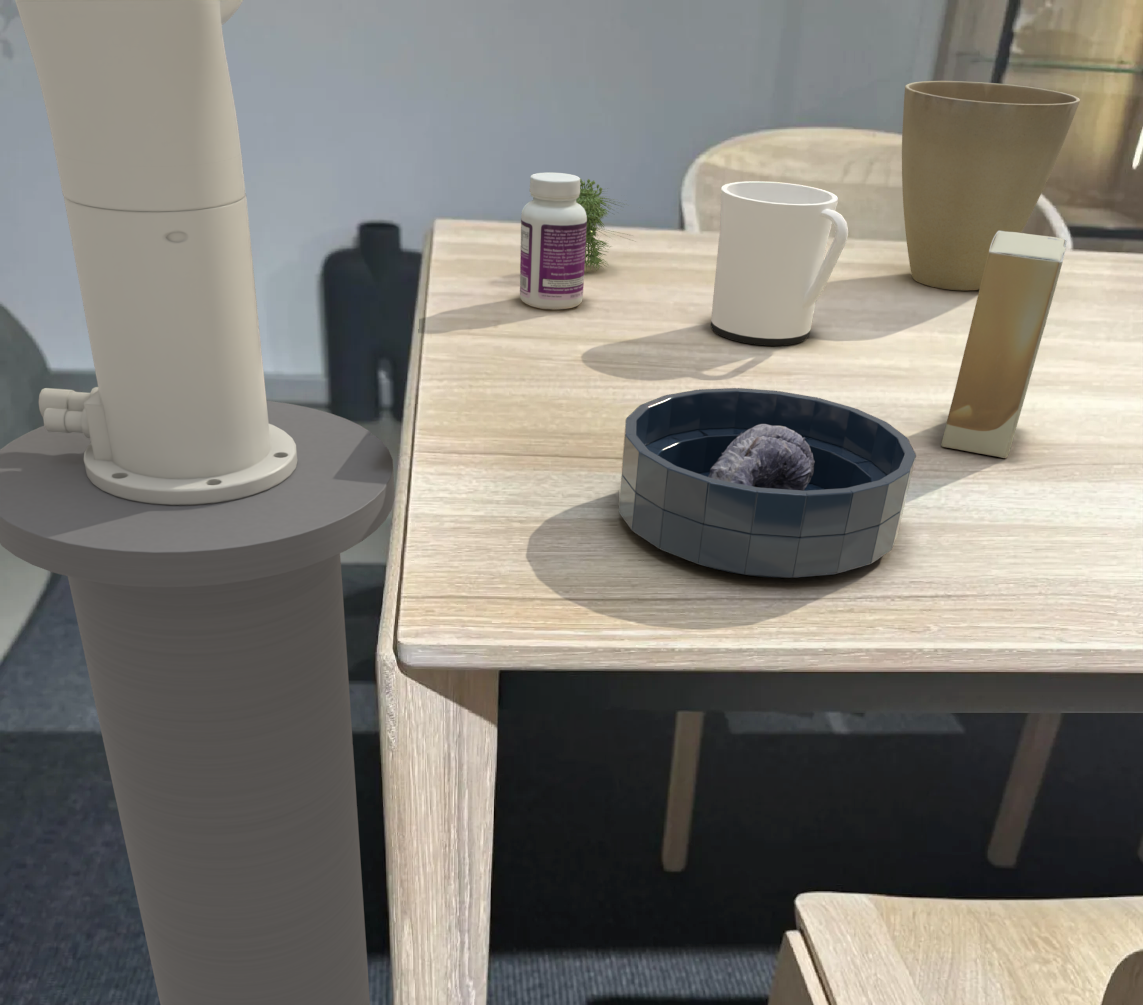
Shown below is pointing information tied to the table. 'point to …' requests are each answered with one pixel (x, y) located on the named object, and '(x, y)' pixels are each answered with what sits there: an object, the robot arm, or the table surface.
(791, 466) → the seashell
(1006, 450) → the cosmetic box
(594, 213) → the green plant
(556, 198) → the pill bottle
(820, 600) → the table surface
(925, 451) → the table surface
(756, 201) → the mug
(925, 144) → the plant pot
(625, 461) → the bowl
